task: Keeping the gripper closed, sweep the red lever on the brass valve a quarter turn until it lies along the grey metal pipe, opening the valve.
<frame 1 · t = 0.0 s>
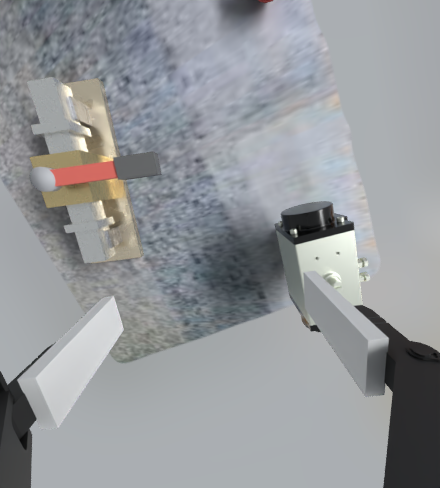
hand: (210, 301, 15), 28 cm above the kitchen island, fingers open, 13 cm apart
valve pipe: (98, 181, 40), on the kitchen island
lever: (96, 172, 28), point 12 cm above the kitchen island, hinge at 0.0°
ball valve: (294, 245, 43), on the kitchen island
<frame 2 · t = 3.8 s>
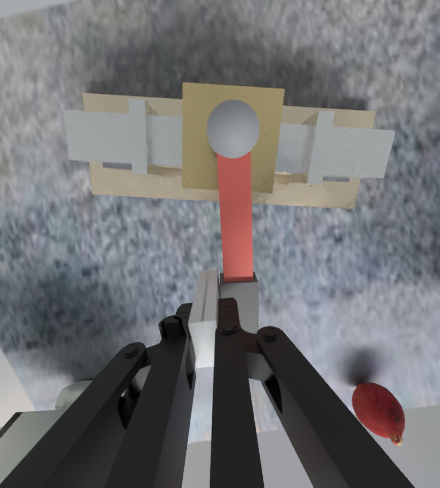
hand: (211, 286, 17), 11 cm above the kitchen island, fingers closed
onion: (359, 383, 34), on the kitchen island
valve pipe: (226, 156, 25), on the kitchen island
lever: (236, 237, 15), point 12 cm above the kitchen island, hinge at 6.6°, touching gripper
ball valve: (105, 386, 34), on the kitchen island
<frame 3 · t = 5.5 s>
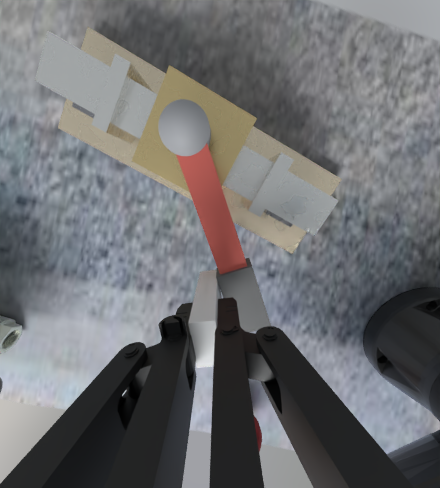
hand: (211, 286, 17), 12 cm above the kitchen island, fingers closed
valve pipe: (203, 155, 25), on the kitchen island
lever: (220, 228, 15), point 12 cm above the kitchen island, hinge at 47.1°, touching gripper
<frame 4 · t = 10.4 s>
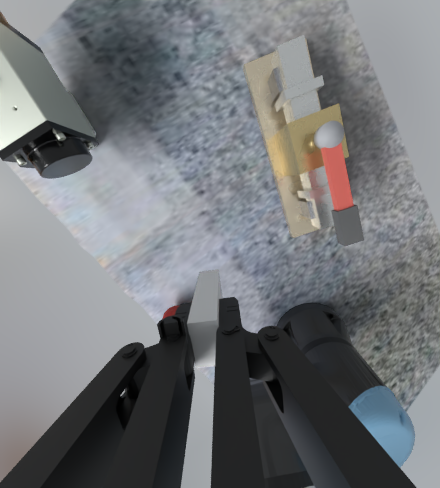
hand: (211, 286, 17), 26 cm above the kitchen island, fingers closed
onion: (180, 309, 48), on the kitchen island
valve pipe: (295, 150, 39), on the kitchen island
lever: (339, 186, 29), point 12 cm above the kitchen island, hinge at 90.0°
ball valve: (77, 125, 38), on the kitchen island
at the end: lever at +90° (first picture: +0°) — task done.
